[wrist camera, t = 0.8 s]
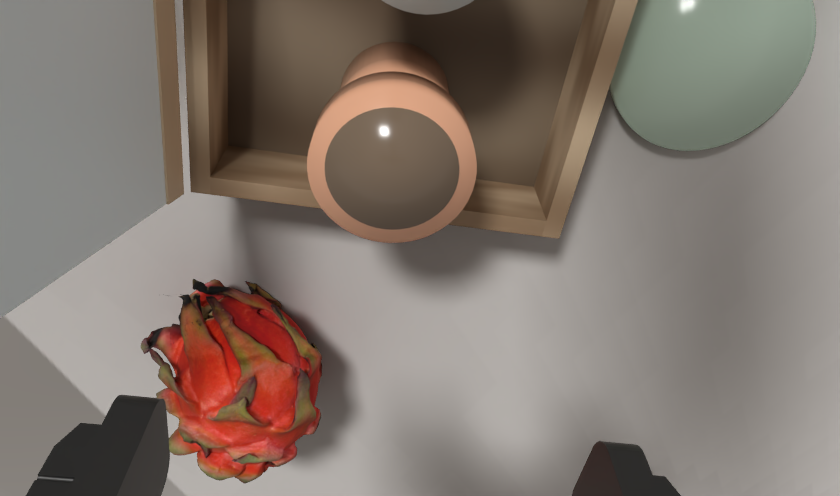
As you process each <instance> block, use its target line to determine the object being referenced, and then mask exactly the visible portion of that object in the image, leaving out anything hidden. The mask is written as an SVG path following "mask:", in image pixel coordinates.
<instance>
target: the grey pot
mask: <svg viewBox="0 0 840 496" xmlns="http://www.w3.org/2000/svg"><path fill="white" fill-rule="evenodd" d="M382 1H383V2H385V3H387V4H389V5H391V6H393V7H395V8H397V9H400V10H403V11H406V12H410V13H415V14H425V15H428V14H440V13H446V12H450V11H453V10H456V9H459V8H461V7H463V6H465V5H467V4H469V3H471V2H472V1H474V0H382Z"/></svg>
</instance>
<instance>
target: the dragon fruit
mask: <svg viewBox="0 0 840 496" xmlns="http://www.w3.org/2000/svg"><path fill="white" fill-rule="evenodd" d="M245 282H246V283H247V285H248V286H249V289H250V290H251V294H247V293H244V292H240V291H238V290H236V289H233V288H230V287H225V286H224V285H223V284H222V283H221V282H220V281H219V280H215V279H214V280H212V281H210V282H208V283H206V284H204V283H202V282H199V281H196V280H195V279H193V289H194V290H195V289H196V291H195V292H193V293H192V294H191V295H190V296H189V295H183V296H180V298H182V299H183V305H182V308H181V313H180V315H179V321H180V325H178V324H172V326H171V327H164V328H160V329H157V330H155V331H152V332H151V334H150V335H149V337H148V338H144V340H143V341H142V343H141V349H142V350H143V352H144V354H145V353H147V352H148V351H149V352H150V354H151V357H152V359H153V360H154V361H155V362H156V363H157V364H158V365H160V366H161V367H160V369H159V375H158V377H159V379H160V380H161V381H162V382H163V383H164V384H165V385H166V386H167V387H168V388H166V389H163V390H162V391H160V392H158V393H157V394H156V396H157V398H160V399H164V401H165V404H166V410H167V411H168V413H170V414H172V415H174V416H176V417H178V419H179V427H178V429H177V430H176V431H175V432H174V433H173V434H172V435H171V437H170V438H169V451H170V452H171V453H173V454H174V455H187V454H191V453H195V452H198V453H197V458H198V459H197V462H198V466H199V467H200V469H201V470H202V471H203V472H204V473H205V474H206V475H207V476H209V477H211V478H214V479H216V480H224V479H227V478H231V477H235V478H237V479H239V480H240V481H241V482H243V483H248V482H250V481H252V480H254V479H256V478H258V477H259V476H261V475H262V473H263V472H265V471H266V470H267V469H268V467H279V466H281V465H283V464H286V463H287V462H289V461H291V460H292V459H294V458H295V457H296V455H297V448H296V446H295V441H296V440H298V439H299V438H300V437H302V436H303V435H307V434H308V435H309V434H314V432H315V431H316V429H317V427H318V425H319V421H320V418H321V413H320V410H319V409H318V408H316V407H315V406H314V405H315V401H316V397H317V392H318V383H319V381H320V377H321V376H322V364H321V360H322V356H321V354H320V353H319V352H318V350H317V348H316V346H315V345H314V344H313V343H312V344H309V343H308V342H307V339H306V337H305V335H304V334H303V332H302V331H301V329H300V328H299V327H298V325H297V324H296V323H295V322H294V321H293V320H292V319H291V318H290V316H288V315H287V314H286V313H285V312H284V311H283V310H282V309H281V308H280V307H281V304H280V303H279V302H278V301H277V300H276V299H274V298H273V297H271V296H270V295H269V294H268V293H267V292H266V291H264V290H262V289H261V288H260V287H259V286H258V285H257V284H255V283H254V284H253V283H250V282H247V281H245ZM180 295H181V294H180ZM159 296H160V295H159ZM165 296H167V295H165ZM152 347H155V348H157V349H159V350H161V351H162V352H163V353H164V355H165V356H166V357H167V359H168V360H169V362H170V363H171V365H172V366H173V368H174V371H175V374H176V377H173V374H172V370H171V368H170V365H169V364H168V363H166V362H164V361H163V359H162V358H161V357H160V355H159V354H158V353H157V352H156V351H154V350H153V349H151V348H152Z"/></svg>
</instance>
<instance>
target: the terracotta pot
mask: <svg viewBox="0 0 840 496" xmlns="http://www.w3.org/2000/svg"><path fill="white" fill-rule="evenodd" d="M307 173H308V180H309V183H310V187H311V190H312V192H313V194H314V197H315V199H316V200H317V202H318V204H319V205H320V207H321V208H322V209H323V211H324V212H325V213H326V214H327V215H328V216H329V217H330V218H331V219H332V220H333V221H334V222H335V223H336V224H338V225H339V226H341V227H342V228H343V229H345V230H347V231H349V232H350V233H352V234H355V235H357V236H359V237H362V238H365V239H368V240H372V241H378V242H386V243H402V242H409V241H414V240H418V239H421V238H424V237H427V236H429V235H432V234H433V233H435V232H437V231H439V230H441V229H442V228H444V227H445V226H446V225H448V224H449V223H450V222H451V221H453V220H454V219H455V218H456V217H457V216H458V214H459V213H460V212H461V211H462V210H463V208H464V207H465V205H466V204H467V202H468V200H469V198H470V196H471V194H472V191H473V188H474V185H475V180H476V174H477V161H476V153H475V149H474V144H473V140H472V135H471V131H470V127H469V124H468V121H467V119H466V117H465V114H464V112H463V111H462V109H461V108H460V106H459V104H458V103H457V102H456V101H455V100H454V98H453V97H452V96H451V95H450V91H449V86H448V82H447V78H446V76H445V74H444V71H443V70H442V68H441V66H440V65H439V64H438V62H437V61H436V60H435V59H434V58H433V57H432V56H431V55H430V54H428V53H427V52H426V51H424V50H422V49H421V48H419V47H417V46H414V45H411V44H408V43H403V42H385V43H380V44H377V45H374V46H372V47H369V48H367V49H366V50H364V51H363V52H361V53H360V54H359V55H357V56H356V57H355V58H354V59H353V61H352V62H351V63H350V64H349V66H348V67H347V69H346V71H345V73H344V75H343V78H342V82H341V85H340V89H339V91H337V92H336V93H335V94H334V95H333V96H332V97H331V98H330V100H329V101H328V102H327V103H326V105H325V106H324V108H323V109H322V111H321V113H320V116H319V118H318V120H317V123H316V127H315V130H314V133H313V137H312V140H311V143H310V147H309V150H308V157H307Z"/></svg>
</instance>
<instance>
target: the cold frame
mask: <svg viewBox="0 0 840 496" xmlns="http://www.w3.org/2000/svg"><path fill="white" fill-rule="evenodd" d="M637 2H638V0H474V1H472V2H471V3H469V4H467V5H465V6H463V7H461V8H459V9H456V10H453V11H450V12H446V13H440V14H428V15H425V14H415V13H410V12H406V11H403V10H400V9H397V8H395V7H393V6H391V5H389V4H387V3H385V2H383V1H382V0H183V15H184V39H185V63H186V86H187V110H188V134H189V158H190V181H191V192H196V193H204V194H212V195H220V196H227V197H235V198H243V199H251V200H259V201H267V202H275V203H282V204H290V205H298V206H306V207H314V208H321V207H320V205H319V204H318V202H317V200H316V199H315V197H314V194H313V192H312V190H311V187H310V183H309V180H308V173H307V157H308V150H309V147H310V143H311V140H312V137H313V133H314V130H315V127H316V123H317V120H318V118H319V116H320V113H321V111H322V109H323V108H324V106H325V105H326V103H327V102H328V101H329V100H330V98H331V97H332V96H333V95H334V94H335V93H336V92H337V91H339V89H340V85H341V82H342V78H343V75H344V73H345V71H346V69H347V67H348V66H349V64H350V63H351V62H352V61H353V59H354V58H355V57H356V56H357V55H359V54H360V53H361V52H363V51H364V50H366V49H367V48H369V47H372V46H374V45H377V44H380V43H385V42H403V43H408V44H411V45H414V46H417V47H419V48H421V49H422V50H424V51H426V52H427V53H428V54H430V55H431V56H432V57H433V58H434V59H435V60H436V61H437V62H438V64H439V65H440V66H441V68H442V70H443V71H444V74H445V76H446V78H447V82H448V86H449V91H450V95H451V96H452V97H453V98H454V100H455V101H456V102H457V103H458V104H459V106H460V108H461V109H462V111H463V112H464V114H465V117H466V119H467V121H468V124H469V127H470V131H471V135H472V140H473V144H474V149H475V153H476V161H477V174H476V180H475V185H474V188H473V191H472V194H471V196H470V198H469V200H468V202H467V204H466V205H465V207H464V208H463V210H462V211H461V212H460V213H459V214H458V216H457V217H456V218H455V219H454V220H453V221H451V222H450V223H449V224H448V225H455V226H463V227H471V228H479V229H487V230H495V231H503V232H511V233H518V234H526V235H534V236H542V237H550V238H558V239H559V238H560V235H561V231H562V228H563V225H564V222H565V219H566V216H567V213H568V210H569V207H570V204H571V201H572V198H573V195H574V192H575V189H576V186H577V183H578V180H579V177H580V174H581V171H582V168H583V165H584V162H585V159H586V156H587V153H588V150H589V147H590V144H591V141H592V138H593V135H594V132H595V129H596V126H597V123H598V120H599V117H600V114H601V111H602V108H603V105H604V102H605V99H606V96H607V93H608V90H609V87H610V84H611V81H612V78H613V75H614V72H615V68H616V65H617V62H618V59H619V56H620V53H621V50H622V47H623V44H624V41H625V38H626V35H627V32H628V29H629V26H630V23H631V20H632V17H633V14H634V11H635V8H636V5H637Z"/></svg>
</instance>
